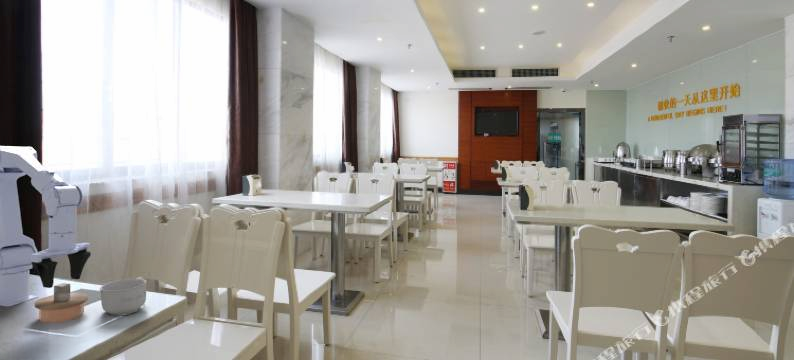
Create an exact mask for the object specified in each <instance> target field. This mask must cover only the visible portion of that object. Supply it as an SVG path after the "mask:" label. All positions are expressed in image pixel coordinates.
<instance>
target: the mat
mask: <svg viewBox="0 0 794 360" xmlns="http://www.w3.org/2000/svg"><path fill="white" fill-rule="evenodd" d="M70 293H83V294H86V295H88V300H87V301H86V302H84V307H85V306H89V305H91V304H94V303H96V302H98V301H101V291H100V290H96V289H95V290H94V289H88V288H87V289H86V288H79V289H76V290H73V291H70Z"/></svg>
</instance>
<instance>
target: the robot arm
mask: <svg viewBox="0 0 794 360" xmlns="http://www.w3.org/2000/svg"><path fill="white" fill-rule="evenodd" d="M25 175H27V176H29V177H30V179H31V180H30V183H31V186H33V188H35V190H37V191H38V192H39V193H40V194H41V195H42V199H43V203H44V205H45V213H46V215H47V216H48V244H47V246H48V248H46V249H44V250H41V251H38V249H37V247H36V245H35V244H36V243H35V242H34V241H35V240H34V239H33V238H31V237H29V236H26V235H24V234H23V233H24V232H23V227H22V226H23V225H22V216H21V208H20V201H19V193H18V187H17V186H18V184H17V180H18V179H19V178H21V177H23V176H25ZM83 197H84V196H83V192H82V190H81V188H80V186H79V185H77V184H69V183H67V182H66V181H65V180H64V179H63V178H62V177H60V175H58V173H56V171H54V170H53V169H52V170H51V169H45V167H44V166H43V165H42V163H41V162H39V160H38V153H37V150H35V149H34V148H33V147H32V146H10V145H6V146H5V145H0V306H2V307H12V306H13V307H14V306H15V305H18V304H21V303H25V302H28V301H31V300H34V299H37V298H39V297H38V295H32V294H31V295H30V269H33V268H34V269H35V271H36V272H37V274H38V276H39V278H40V280H41V281H40V282H41V284H42V288H46V289H51V288H54V281H55V276H54V275H55V272H56V269H57V265H58V261H55V260H54V261H53V259H55V258H59V257H60V258H61V257H63V256H67V259H68V262H69V268H70V269H69V271H70V273H69V275H70V278H71V280H80V279H81V276H82V273H83V270H84V267H85V266H86V263H87V261H88V259H90V257H91V255H92V254H91V253H92V252H91V251H90V250H91V243H89V242H80V243H77V230H78V228H77V227H78V226H77V223H78V218H77V216H78V215H77V214H78V207H79V206H80V205H82V202H83ZM10 246H11V247H10Z"/></svg>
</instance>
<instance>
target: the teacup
mask: <svg viewBox="0 0 794 360" xmlns="http://www.w3.org/2000/svg"><path fill="white" fill-rule="evenodd" d="M147 283H148V282H147V280H146V279H145V278H144V277H142V276H139V277H136V278H125V279H119V280H118V279H117V280H114V281H111V282H107V283H105V284H103V285H101V286H100V287H99V291H101V300H100V301H101V303H100V304H101V307H102V310H103V311H104V312H106V313H108V314H110V315H112V316H113V315H114V316H126V315H130V314H133V313H136V312H137V311H139V310H140V308H141V307H143V306H144V305H145V303H146V300H147Z"/></svg>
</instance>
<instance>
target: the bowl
mask: <svg viewBox="0 0 794 360" xmlns="http://www.w3.org/2000/svg"><path fill="white" fill-rule="evenodd" d="M84 312H85V306H84V303H82V304H80V305H77V306H73V307H69V308H63V309H54V310H43V309H38V319H39V321H40V322H42V323H61V322H66V321H70V320H73V319H77V318H79V317H81V316H82V315H83V314H84Z"/></svg>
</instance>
